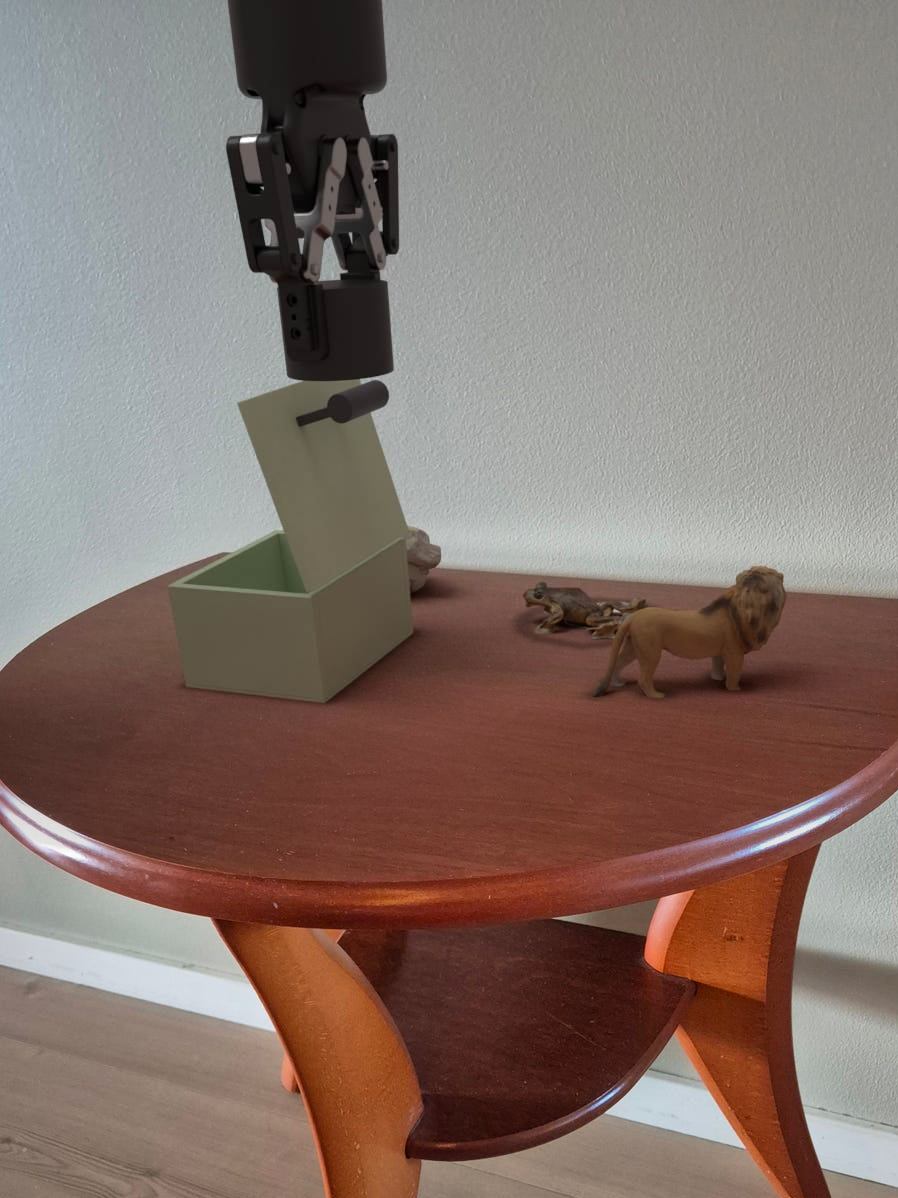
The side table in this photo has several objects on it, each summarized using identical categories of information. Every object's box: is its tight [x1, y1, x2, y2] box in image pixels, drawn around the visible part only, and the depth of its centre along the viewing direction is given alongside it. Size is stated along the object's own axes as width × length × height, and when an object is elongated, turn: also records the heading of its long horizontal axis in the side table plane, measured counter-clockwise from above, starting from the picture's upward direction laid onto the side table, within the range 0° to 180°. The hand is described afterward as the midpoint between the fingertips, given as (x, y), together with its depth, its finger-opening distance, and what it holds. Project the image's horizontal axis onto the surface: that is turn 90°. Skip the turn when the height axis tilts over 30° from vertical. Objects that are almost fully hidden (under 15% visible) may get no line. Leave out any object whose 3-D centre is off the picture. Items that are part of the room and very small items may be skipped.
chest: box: [167, 529, 414, 704], centre depth 96 cm, size 13×16×9 cm
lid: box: [236, 379, 409, 592], centre depth 88 cm, size 14×16×6 cm
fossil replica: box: [399, 524, 442, 594], centre depth 112 cm, size 12×8×10 cm
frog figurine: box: [522, 581, 649, 640], centre depth 102 cm, size 12×12×4 cm
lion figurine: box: [592, 565, 788, 699], centre depth 87 cm, size 15×5×9 cm, turn 102°
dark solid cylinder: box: [276, 279, 395, 381], centre depth 65 cm, size 6×6×4 cm
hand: (338, 350), depth 66 cm, fingers closed on dark solid cylinder, 6 cm apart
